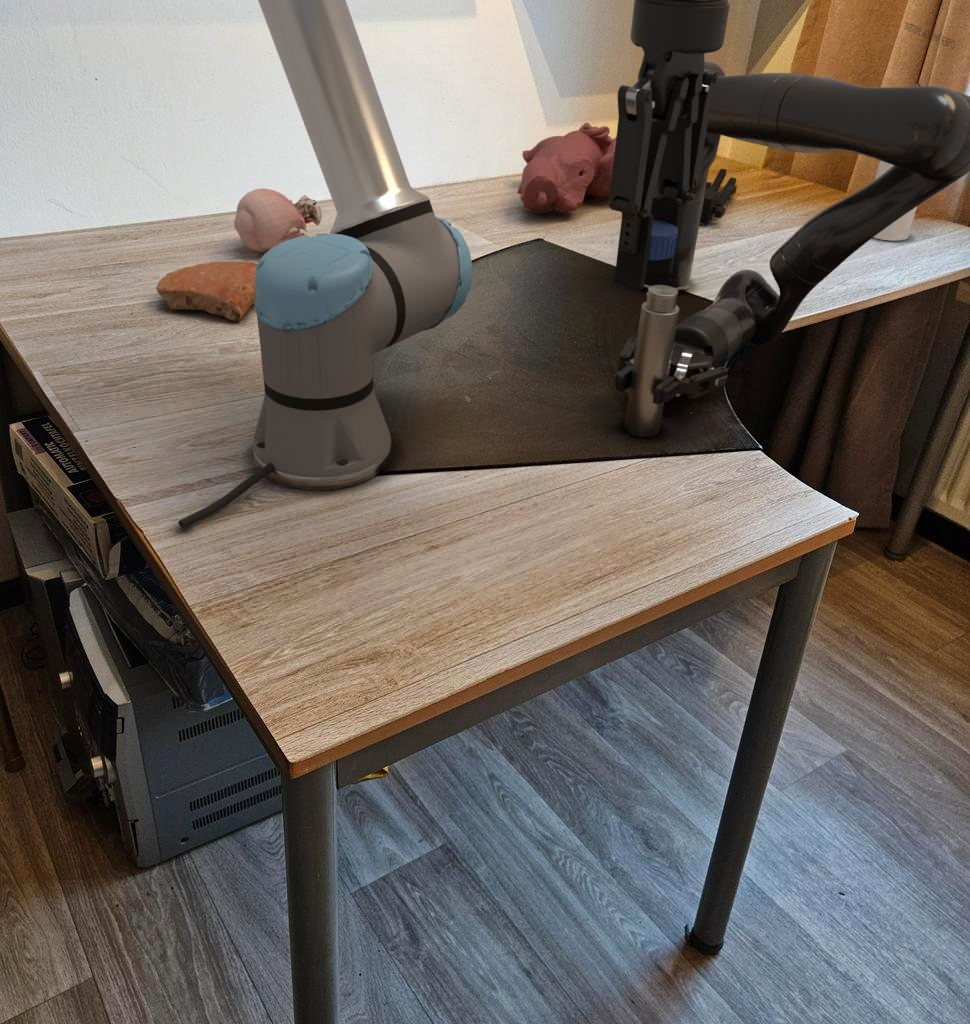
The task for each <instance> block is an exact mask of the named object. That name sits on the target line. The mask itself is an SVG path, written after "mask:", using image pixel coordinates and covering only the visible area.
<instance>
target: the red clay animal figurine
mask: <svg viewBox="0 0 970 1024" xmlns="http://www.w3.org/2000/svg"><path fill="white" fill-rule="evenodd" d="M610 130H611V129H610V127H608V126H607V125H605V126H604V125H602V126H600V127H598V126H592V125H591V124H590V123H589V122H585V123H584V124H581V126H580V127H579V129H576V130H573V131H570V132H568V133H566V134H565V135H554V136H549V137H546V138H544V139H542V140H540V141H539V142H538V143H536V145H535V146H534V147H532V148H531V149H529V150H523V151H522V153H521V156H522V158H523V160H524V162H525V163H526V164H525V166H524V168H523V170H522V172H521V173H522V174H521V180H520V181H521V182H520V185H519V186H518V189H517V194H518V195H520V200H521V202H522V203H523V207H524V209H525V210H529V211H530V212H532V213H535V214H546V213H549V212H551V211H552V210H553V209H554V208H555V209H556V210H557V211H559V212H560V213H564V214H569V213H573V212H575V211H578V209H579V208H581V206H582V203H584V199H585V195H591V196H593V197H596V198H599V197H604V198H606V197H608V198H609V197H610V189H611V180H612V171H613V163H614V154H615V145H616V136H615V137H614V138H612V137H611V136H610V135H609V134H610Z"/></svg>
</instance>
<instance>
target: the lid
mask: <svg viewBox="0 0 970 1024" xmlns="http://www.w3.org/2000/svg"><path fill="white" fill-rule="evenodd" d="M677 233H678V228H677V227H676V226H674V225H673V224H670V223H668V222H664V221H660V220H653V227H652V234H651V241H650V248H649V255H648V260H664V259H668V258H671V257H672V256H673V255H674V253H675V252H676V246H677V239H678V234H677Z"/></svg>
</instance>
